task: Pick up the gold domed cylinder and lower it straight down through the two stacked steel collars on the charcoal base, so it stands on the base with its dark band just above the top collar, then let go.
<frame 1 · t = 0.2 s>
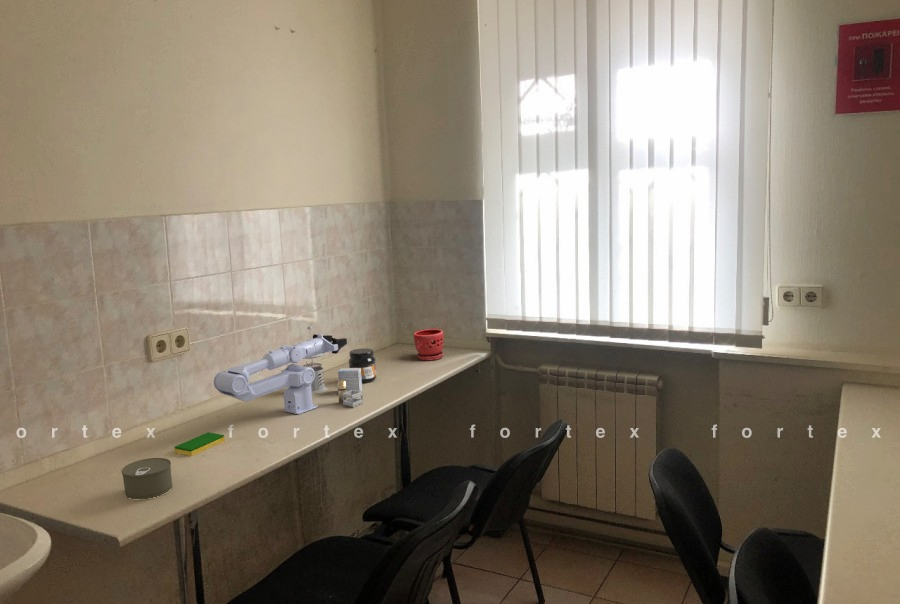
hand: (338, 339, 269), 21 cm above the table, tool horizontal, fingers open, 7 cm apart
medicine box: (351, 392, 277), on the table
plant pot: (429, 358, 323), on the table
dish sponge: (200, 448, 225), on the table
can: (149, 491, 193), on the table
supplement container: (363, 380, 292), on the table
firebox: (353, 404, 260), on the table
french press: (313, 390, 281), on the table
gold domed cylinder: (343, 402, 263), on the table
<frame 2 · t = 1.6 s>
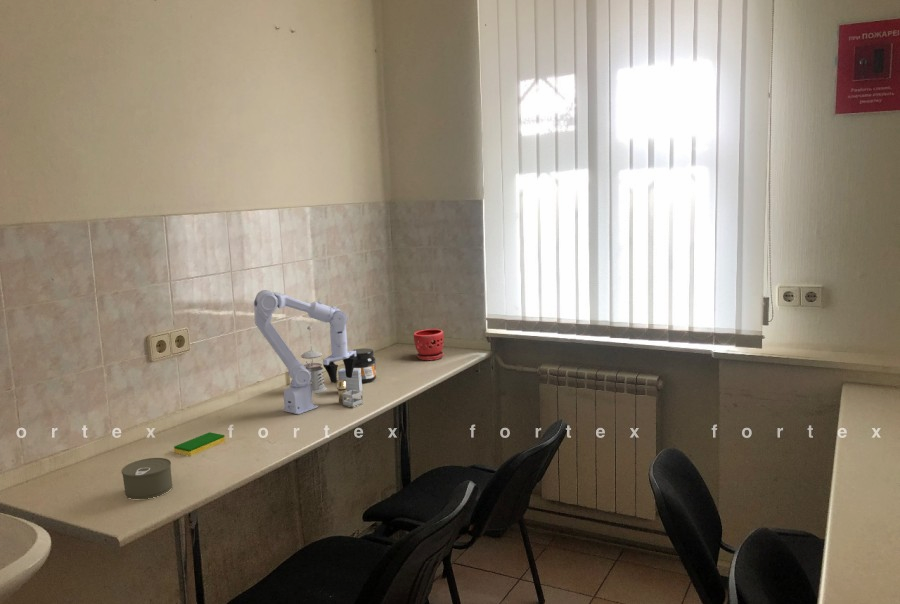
hand: (341, 380, 262), 8 cm above the table, tool pointing down, fingers open, 7 cm apart
nothing on the table moved.
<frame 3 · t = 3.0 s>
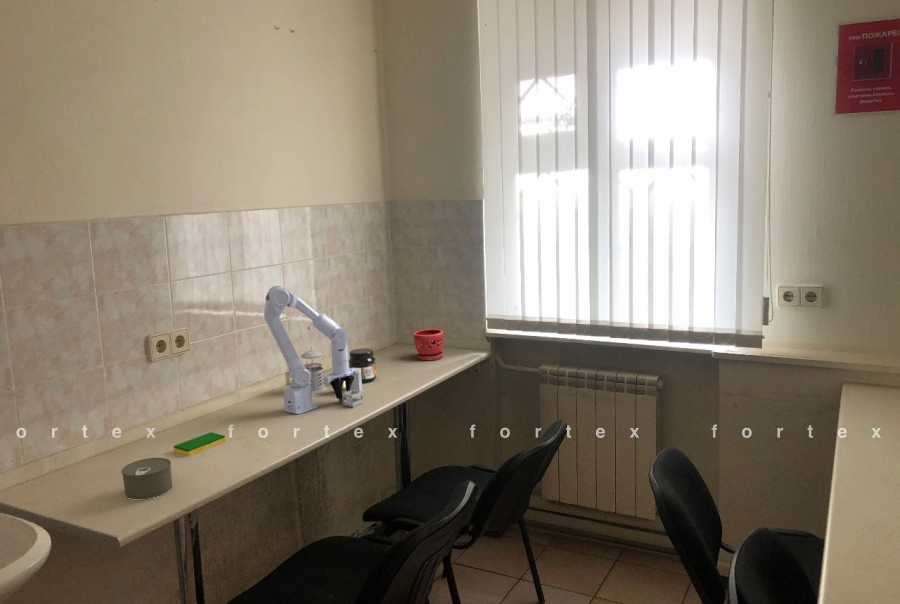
hand: (342, 397, 263), 2 cm above the table, tool pointing down, fingers closed on gold domed cylinder, 3 cm apart
gold domed cylinder: (343, 402, 263), on the table, touching gripper
everything else where it was.
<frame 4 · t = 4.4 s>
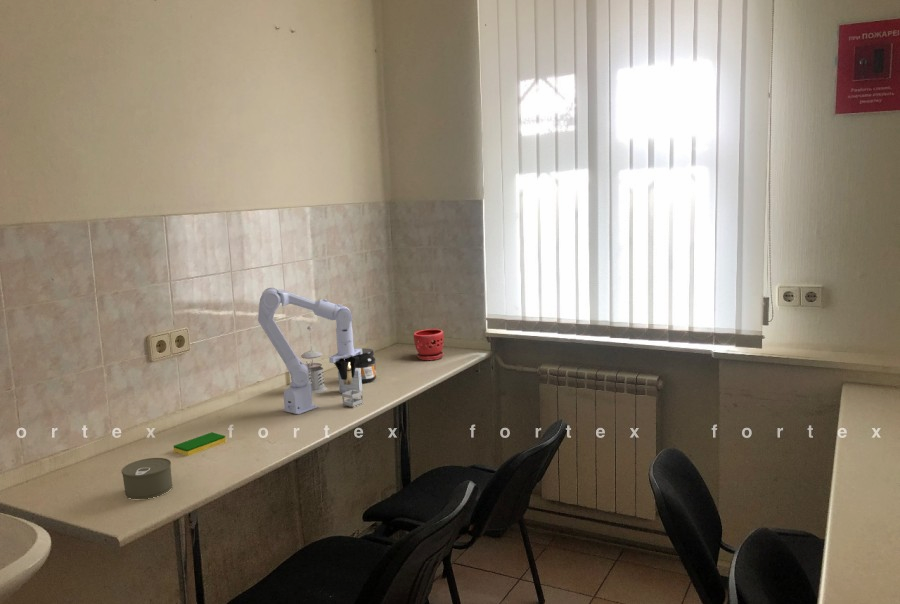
hand: (347, 378, 260), 9 cm above the table, tool pointing down, fingers closed on gold domed cylinder, 3 cm apart
gold domed cylinder: (348, 383, 260), point 7 cm above the table, touching gripper
everything else where it was.
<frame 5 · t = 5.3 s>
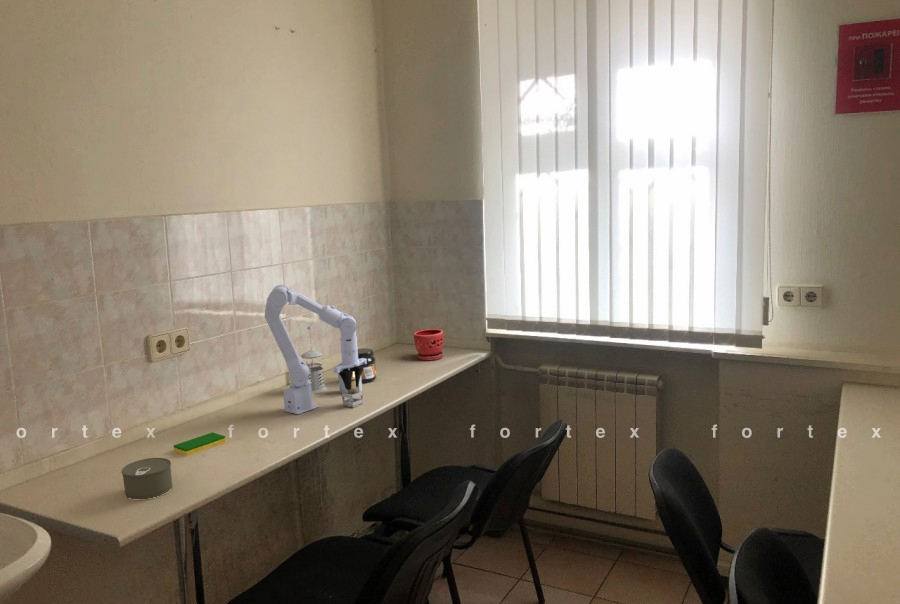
hand: (352, 387, 259), 6 cm above the table, tool pointing down, fingers closed on gold domed cylinder, 3 cm apart
gold domed cylinder: (352, 393, 260), point 4 cm above the table, touching gripper
everything else where it was.
when the fingers open (5 cm above the table, at t = 5.9 s): gold domed cylinder drops 2 cm, resting on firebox.
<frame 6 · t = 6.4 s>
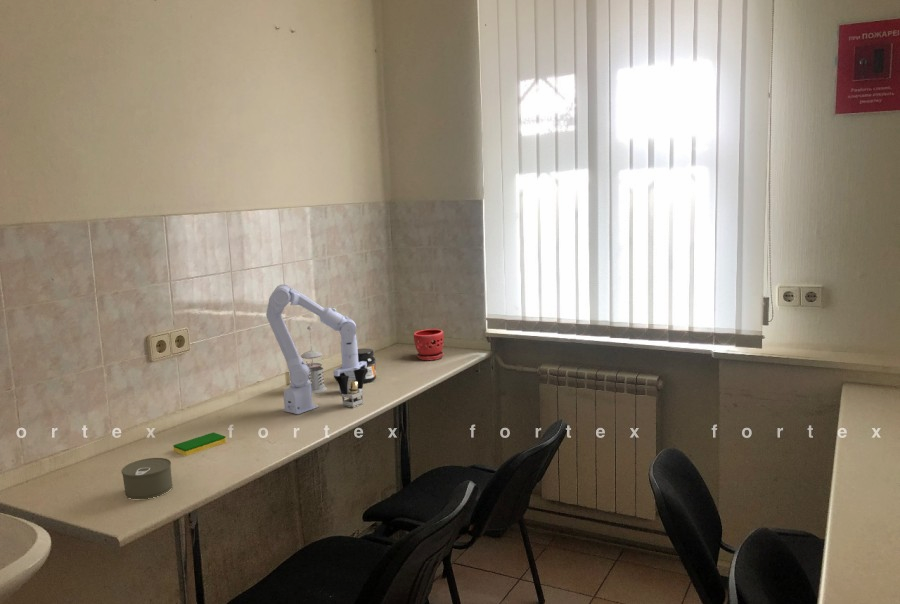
hand: (352, 391, 259), 5 cm above the table, tool pointing down, fingers open, 7 cm apart
gold domed cylinder: (352, 403, 260), point 1 cm above the table, tilted 6°, touching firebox
everything else where it was.
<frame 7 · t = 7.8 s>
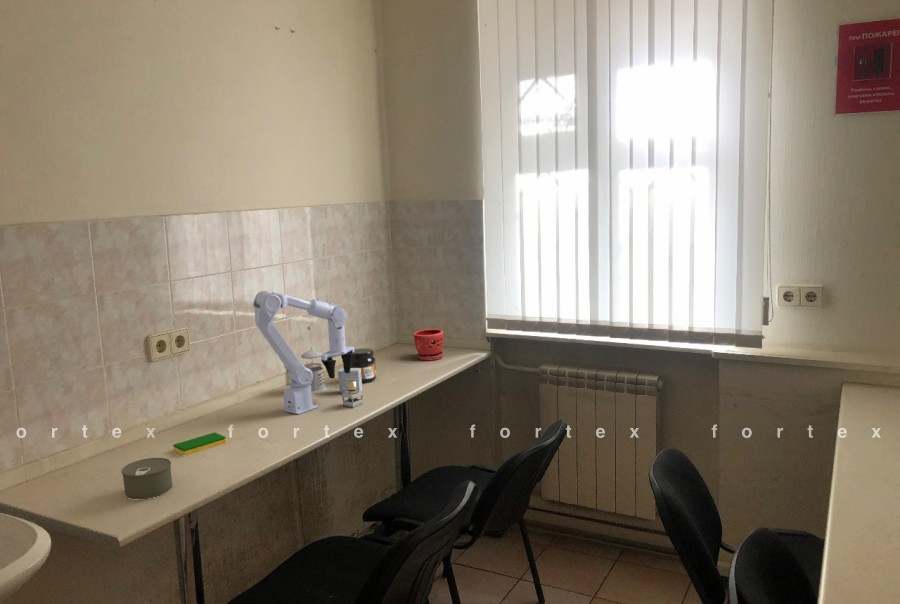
hand: (339, 375, 264), 9 cm above the table, tool pointing down, fingers open, 7 cm apart
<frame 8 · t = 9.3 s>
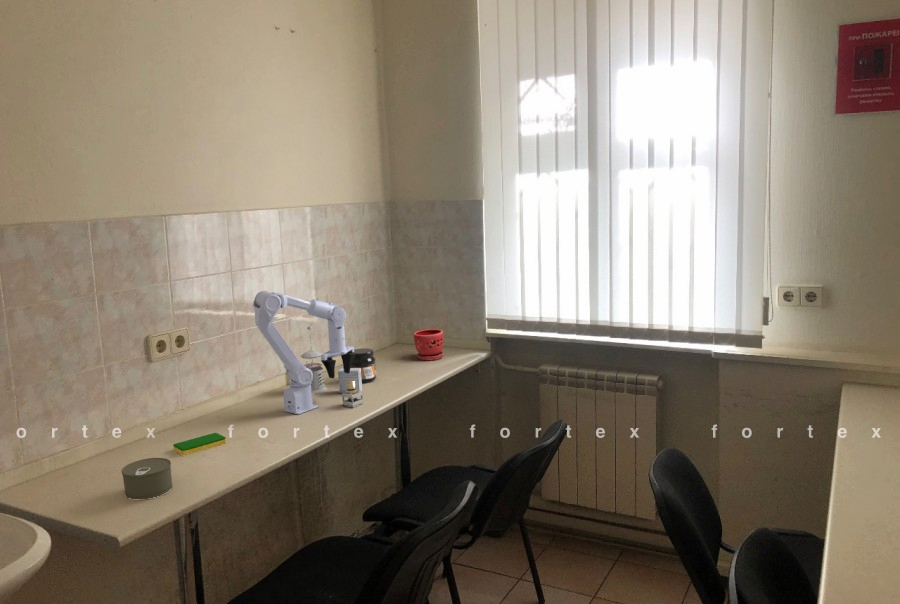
hand: (339, 375, 264), 9 cm above the table, tool pointing down, fingers open, 7 cm apart
at the end: gold domed cylinder 0.0 cm off-centre on the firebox, point 0.6 cm above the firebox's base; gold domed cylinder tilted 3°; the gripper is holding nothing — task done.
